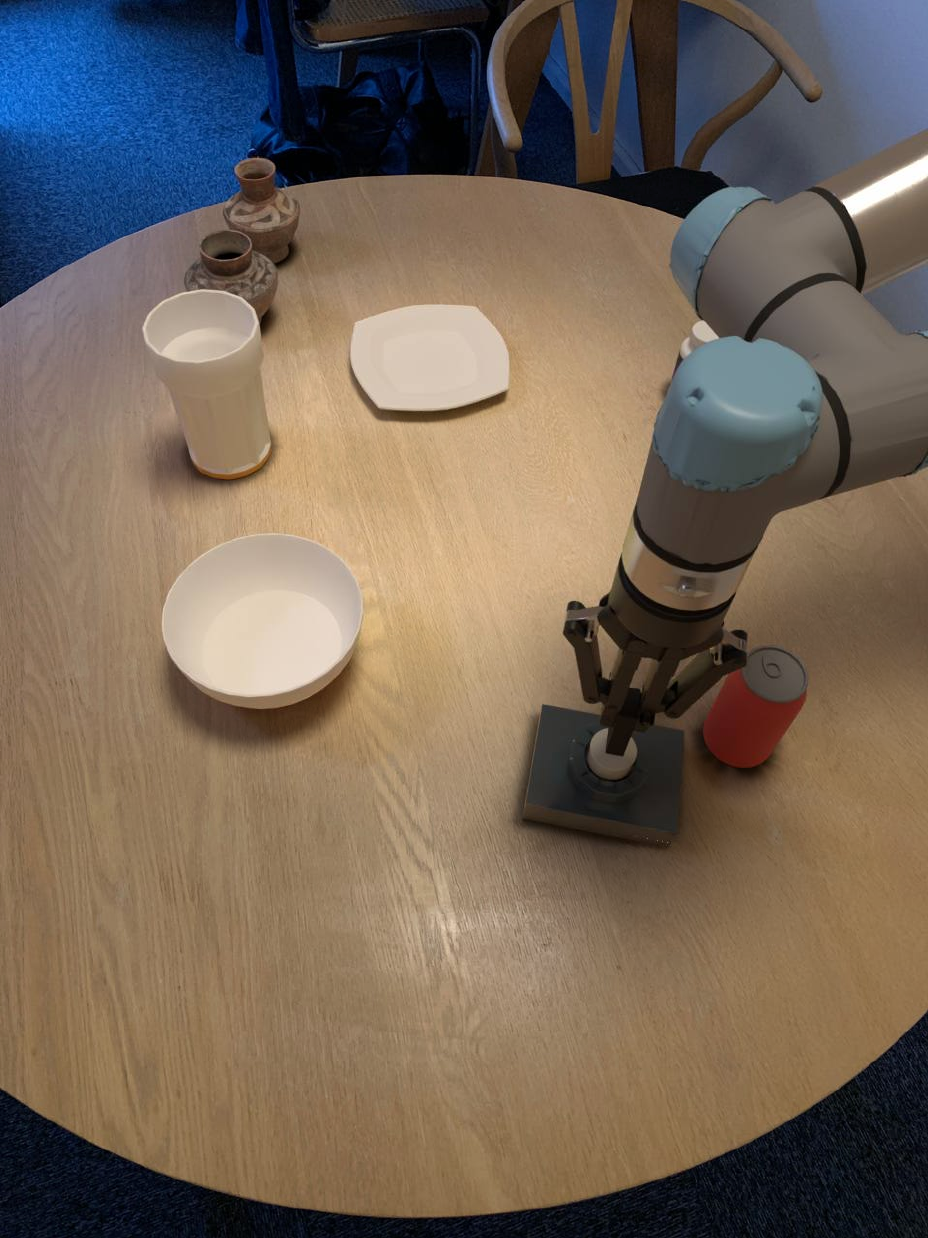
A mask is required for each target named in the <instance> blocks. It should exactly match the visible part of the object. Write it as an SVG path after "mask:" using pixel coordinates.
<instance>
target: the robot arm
mask: <svg viewBox="0 0 928 1238" xmlns="http://www.w3.org/2000/svg"><path fill="white" fill-rule="evenodd" d="M669 258H670V260H669V265H668V266H669V268H670V271H671V274H672V278H673V280H674V281H675V283H676V285H677V286H678V288H679V290H680V291H681V293H682V295H684V297H685V298H686V300H687V301H688V304H690V306H691V307H692V309H693V311H694V313H695V316H696V317H697V318H698V319H699V320H700V321H705V322H706V323H707V325H708V326H709V327H710V328H711V329H712V330H713V332H714V333H715V334H716V335H717V336H718V337H719V339H715V340H712V341H709V342H707V343H705V344H703V345H701V346H699V347H697V348H696V349H695V350H693V351H692V352H691V353H690V354H689V355H688V356H687V357H686V358H685V359H684V360H683V361H682V362H681V364H680V365H679V367H678V369H677V370H676V373H675V375H674V377H673V380H672V382H671V381H670V382H671V385H670V384H669V386H670V387H668V389H667V391H666V394H665V396H664V397H665V398H664V400H663V402H662V404H661V406H660V408H659V410H658V411H657V415H656V418H655V422H654V423H653V430H652V431H653V432H652V436H651V442H650V446H649V450H648V454H647V458H646V462H645V466H644V470H643V474H642V478H641V482H640V486H639V489H638V494H637V496H636V497H637V498H636V500H635V505H634V508H633V511H632V514H631V517H630V521H629V524H628V528H627V530H626V534H625V538H624V540H623V541H624V542H623V544H622V551H621V554H620V556H619V559H618V563H617V567H616V571H615V573H614V576H613V581H612V584H611V588H610V590H609V592H607V593H606V594H604V595H603V596H602V597H601V598H600V599H599V602H598V605H595V606H589V607H586V606H585V604H584V603H583V602H582V601H578V600H571V601H569V602H567V605H566V611H565V616H564V621H563V622H564V623H563V628H562V629H563V630H562V634H563V636H564V638H565V639H566V640H567V642H568V643H569V644H570V645H571V646H572V648H573V649H574V655H575V661H576V666H577V671H578V676H579V682H580V688H581V695H582V699H583V701H584V703H586V704H589V705H596V704H598V703H601V708H600V714H599V715H600V724H601V725H603V726H608V735H607V744H606V752H605V753H607V754H612V755H617V756H622V757H623V756H624V753H625V751H626V748H627V746H628V743H629V741H630V738H631V736H632V733H633V731H637V732H642V733H644V732H645V731H647V729H648V727H651V726H653V725H655V722H656V715H657V714H664V716H665V717H666V718H668V719H671V720H672V719H674V720H675V719H679V718H680V717H682V716H683V715H684V714H685V713H686V712H687V711H688V710H689V709H690V708H691V707H692V706H694V705H695V704H696V703H697V702H698V701H699V700H700V699H701V698H702V697H703V696H704V695H705V694H707V693H708V692H709V691H710V690H711V689H712V688H713V687H714V686H715V685H716V684H717V683H718V682H720V680H722V678H724V677H725V676H726V675H727V676H728V675H729V673H731V672H734V671H736V670H739V669H741V668H743V667H745V666H746V665H747V653H748V638H749V637H748V636H749V635H748V632H747V631H745V630H743V629H733V630H730V631H729V630H727V629H726V628H724V626H725V618H726V616H727V614H728V612H729V610H730V608H731V606H732V603H733V602H734V599H735V597H736V595H737V591H738V590H739V587H740V586H741V583H742V581H743V579H744V577H745V575H746V572H747V570H748V569H749V566H750V564H751V562H752V559H753V557H754V556H755V553H756V551H757V550H758V547H759V545H760V543H761V541H762V540H763V539H764V535H765V533H766V531H767V529H768V527H769V525H770V523H771V521H772V519H774V517H776V515H778V514H779V513H781V512H785V511H788V510H792V509H795V508H798V507H802V506H805V505H807V504H811V503H813V502H816V501H820V500H823V499H826V498H830V497H833V496H837V495H840V494H843V493H847V492H851V491H853V490H857V489H861V488H864V487H869V486H872V485H875V484H879V483H881V482H885V481H888V480H892V479H896V478H906V477H908V476H913V475H916V474H917V473H918V472H919V471H922V470H924V469H927V468H928V330H924V331H923V330H920V329H918V330H914V331H912V332H909V333H908V334H901V333H900V332H898V330H897V329H895V328H894V326H893V325H892V324H891V323H890V322H889V321H888V320H887V319H886V318H885V317H884V316H883V315H882V314H881V313H880V312H879V311H878V310H877V309H876V308H875V307H874V306H873V305H872V304H871V303H870V302H869V301H868V299H866V298H865V297H864V295H866V294H868V293H871V292H873V291H875V290H877V289H879V288H880V287H883V286H885V285H887V284H889V283H891V282H893V281H895V280H897V279H899V278H900V277H903V276H904V275H907V274H909V273H911V272H913V271H915V270H917V269H919V268H921V267H924V266H925V265H927V264H928V128H926V129H924V130H922V131H920V132H918V133H916V134H914V135H911V136H910V137H908V138H906V139H904V140H902V141H900V142H898V143H896V144H893V145H892V146H890V147H888V148H886V149H884V150H882V151H880V152H878V153H876V154H874V155H872V156H870V157H868V158H866V159H864V160H862V161H860V162H858V163H856V164H855V165H853V166H851V167H848V168H847V169H844V170H843V171H841V172H839V173H836V174H835V175H833V176H831V177H829V178H827V179H824V180H822V181H820V182H819V183H816V184H815V185H812V186H811V187H810V188H808V189H805V190H803V191H801V192H798V193H797V194H794V195H793V196H791V197H789V198H787V199H785V200H783V201H780V202H778V203H775V202H774V200H773V199H772V198H771V197H770V196H769V195H767V194H763V193H761V192H760V191H759V190H757V189H756V188H753V187H750V186H735V187H733V186H728V187H725V188H722V189H719V190H717V191H715V192H713V193H712V194H710V195H708V196H707V197H705V198H704V199H702V200H701V202H699V203H698V204H697V205H696V206H694V207H693V208H692V210H691V211H690V212H689V213H688V214H687V216H686V217H685V218H684V220H683V221H682V222H681V224H680V226H679V227H678V229H677V231H676V234H675V235H674V237H673V241H672V244H671V247H670V254H669ZM600 627H601V628H602V629H603V631H604V632H605V633H606V634H607V635H608V637H609V638H610V640H612V641H613V643H614V644H615V645H616V646H617V648H618V651H617V655H616V657H615V660H614V663H613V666H612V670H611V672H609V676H608V679H607V678H605V677H603V667H602V666H603V665H602V660H601V659H602V658H601V653H600V652H601V651H600V647H599V639H598V634H599V628H600ZM695 655H696V656H695ZM693 656H695V657H694V658H692V660H691V661H690V662H688V664H687V665H685V667H684V668H683V669H682V670H681V671H680V672H678V674H677V675H676V672H677V670H678V667H679V665H680V662H681V661H683V660H687V658H688V659H689V658H691V657H693ZM642 659H651V662H650V664H649V666H648V670H647V672H646V675H645V677H644V680H643V682H642V686H641V688H636V687H631V684H632V682H633V679H634V676H635V673H636V671H638V669H639V667H640V664H641V661H642ZM675 675H676V676H675ZM674 676H675V677H674ZM672 678H673V679H672ZM671 679H672V680H671Z"/></svg>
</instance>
